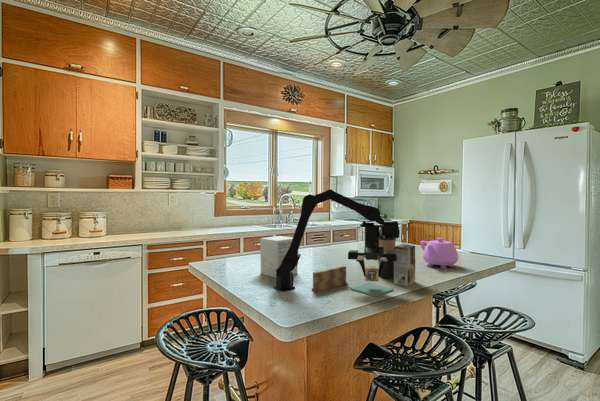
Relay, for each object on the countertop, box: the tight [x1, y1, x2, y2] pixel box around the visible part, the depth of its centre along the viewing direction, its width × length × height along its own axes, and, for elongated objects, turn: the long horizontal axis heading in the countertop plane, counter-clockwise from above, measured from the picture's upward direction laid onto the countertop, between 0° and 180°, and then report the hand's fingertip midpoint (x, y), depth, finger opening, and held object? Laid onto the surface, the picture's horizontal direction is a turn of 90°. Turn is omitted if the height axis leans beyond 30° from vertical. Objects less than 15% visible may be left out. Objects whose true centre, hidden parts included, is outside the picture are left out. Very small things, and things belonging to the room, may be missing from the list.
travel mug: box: [377, 233, 396, 280], centre depth 148 cm, size 8×8×20 cm
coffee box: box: [393, 243, 416, 287], centre depth 137 cm, size 9×6×16 cm
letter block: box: [364, 265, 379, 283], centre depth 127 cm, size 5×5×5 cm
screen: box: [311, 265, 349, 293], centre depth 131 cm, size 18×4×8 cm, turn 131°
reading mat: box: [350, 282, 394, 298], centre depth 127 cm, size 12×12×1 cm
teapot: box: [419, 237, 459, 270], centre depth 170 cm, size 20×20×15 cm
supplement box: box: [259, 235, 298, 279], centre depth 154 cm, size 13×13×18 cm
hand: (371, 276), depth 127 cm, fingers closed on letter block, 5 cm apart
